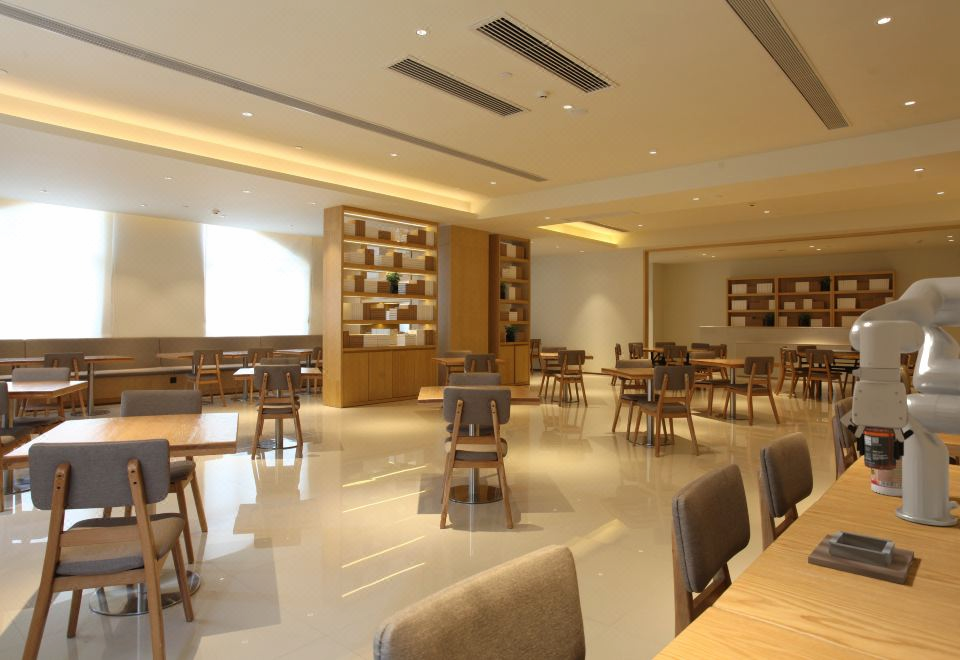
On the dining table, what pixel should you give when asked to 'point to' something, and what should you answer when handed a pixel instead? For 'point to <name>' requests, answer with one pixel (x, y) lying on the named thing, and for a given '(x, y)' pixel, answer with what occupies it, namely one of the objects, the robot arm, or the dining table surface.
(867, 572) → the bottle holder
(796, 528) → the dining table surface
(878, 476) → the fruit juice
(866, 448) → the supplement bottle
